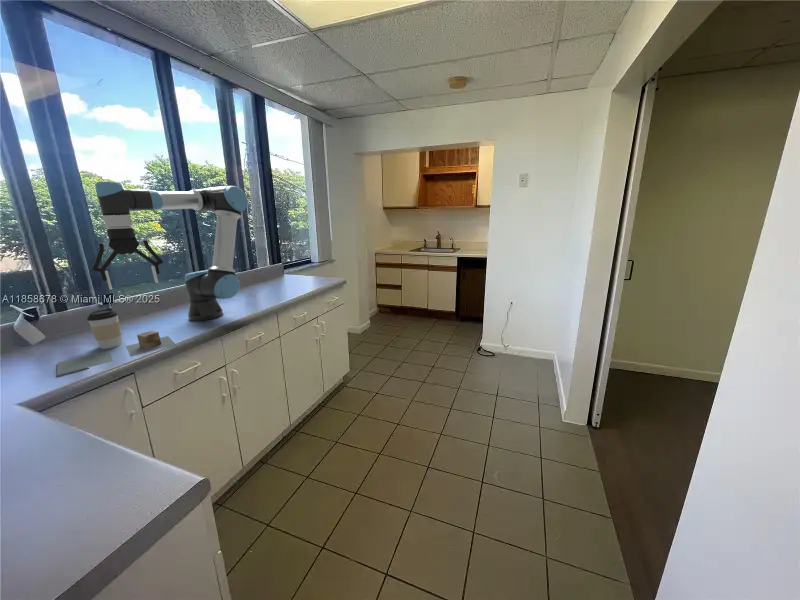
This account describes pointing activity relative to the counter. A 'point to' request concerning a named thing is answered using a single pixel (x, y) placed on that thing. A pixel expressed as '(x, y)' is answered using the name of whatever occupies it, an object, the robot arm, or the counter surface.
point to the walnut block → (149, 339)
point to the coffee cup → (105, 328)
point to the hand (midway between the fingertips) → (134, 285)
